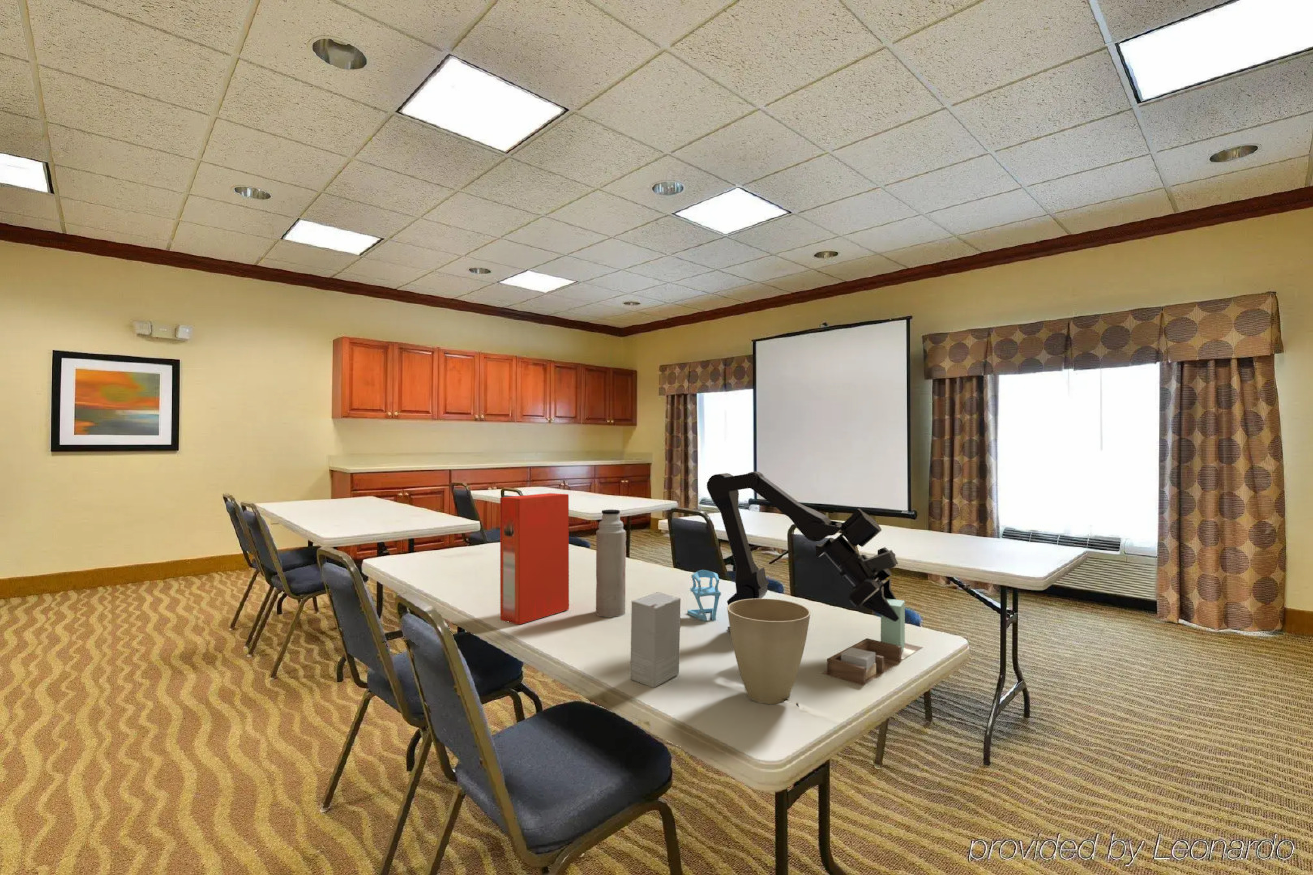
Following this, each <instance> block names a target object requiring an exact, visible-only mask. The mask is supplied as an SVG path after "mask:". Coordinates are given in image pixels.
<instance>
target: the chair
mask: <svg viewBox="0 0 1313 875" xmlns="http://www.w3.org/2000/svg"><path fill="white" fill-rule="evenodd" d="M701 578H709V584H708V586H703V587H702V584H701ZM713 578H714V580H715V582H716V583H715V585H714V586H713ZM691 579H692V584H693V585H692V587H690V589H689V590H690V592H691V593H692V594H693V596H694V597H695V600H696V602H697V606H698V608H696V609H687V614H688V615H689V616H692V617H695V618H696V619H699V620H701V621H703V622H707V620H708V619H707V614H706V613H711V621H714V622H715V621H717V612H718V606H719V600H720V597H721V595H722V592H721V591H720V590H719V583H720V578H719V575H718V573H716V572H714V571H710V570H706V569H700V570H697V571H696V572H694V573H692V574H691ZM697 586H698V587H697ZM708 596H714V602H713V608H711V607H710V608H704V607H703V605H702V602H701V598H702V597H703V598H704V597H708Z"/></svg>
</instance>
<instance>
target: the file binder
mask: <svg viewBox="0 0 1313 875" xmlns="http://www.w3.org/2000/svg"><path fill="white" fill-rule="evenodd" d="M569 500H570V499H569V493H553V492H552V493H551V492H549V493H538V494H527V495H526V494H525V495H515V496H503V497H500V498H499V505H500V506H499V509H500V510H499V511H500V512H499V519H500V520H499V521H500V522H499V525H500V527H499V530H500V531H499V532H500V533H499V537H500V538H499V542H500V543H499V544H500V545H499V546H500V547H499V552H500V556H499V557H500V558H499V562H500V563H499V566H500V568H499V574H500V579H499V580H500V582H499V583H500V584H499V586H500V587H499V588H500V589H499V596H500V599H499V600H500V602H499V604H500V607H499V609H500V614H499V615H500V616H499V617H500V621H503V622H506V621H509V622H508V623H510V622H511V624H514V625H523V624H525V623H529V622H533V621H536V620H539V619H542V617H543V618H544V617H545V616H546V617H549V616H552V615H555V613H556V614H558V613H561V612H566V611H569V610H570V588H569V587H570V575H569V574H570V562H569V561H570V551H569V550H570V540H569V538H570V537H569V536H570V533H569V530H570V529H569V526H570V524H569V523H570V521H569V520H570V519H569V518H570V515H569V514H570V508H569V504H570V503H569ZM565 610H566V611H565Z"/></svg>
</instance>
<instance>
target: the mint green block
mask: <svg viewBox="0 0 1313 875" xmlns="http://www.w3.org/2000/svg"><path fill="white" fill-rule="evenodd" d="M885 599H886V600H887V601H888V603H889V604H890V606H891V607H892V608H893V610H894V611H895V613H896V614H897V616H898V617H899V619H898V620H897V621H893V620H891V619H889V618H887V617H885V616H883V615H881V614H880V641H881V642H885V643H889V644H893V645H898V646H902V650H903V649H904V647H905V643H906V641H905V640H906V636H905V635H906V634H905V633H906V632H905V631H906V629H905V628H906V625H905V624H906V620H905V619H906V612H905V611H906V608H905V607H906V601H905V600H901V599H897V600H895V599H887V598H885Z"/></svg>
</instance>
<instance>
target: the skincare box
mask: <svg viewBox="0 0 1313 875" xmlns="http://www.w3.org/2000/svg"><path fill="white" fill-rule="evenodd" d="M681 604H682V603H681V598H680V597H677V596H673V595H670V594H666V593H663V592H659V591H658V592H653V593H651V594H648V595H646V596H642V597H640V598H636V599H634V600H631V622H630V624H631V625H630V676H629V677H630V680H633V681H635V682H638V683H641V684H643V685H645V686H648V685H649V687H652V688H655V687H656V688H657V687H658V686H660V685H661V684H663V683H665V682H667V681H669V680H670V679H672V678H674V677H676V676H678V675H679V674H680V646H681V645H680V644H681V643H680V641H681V639H680V638H681V636H680V635H681Z"/></svg>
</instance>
